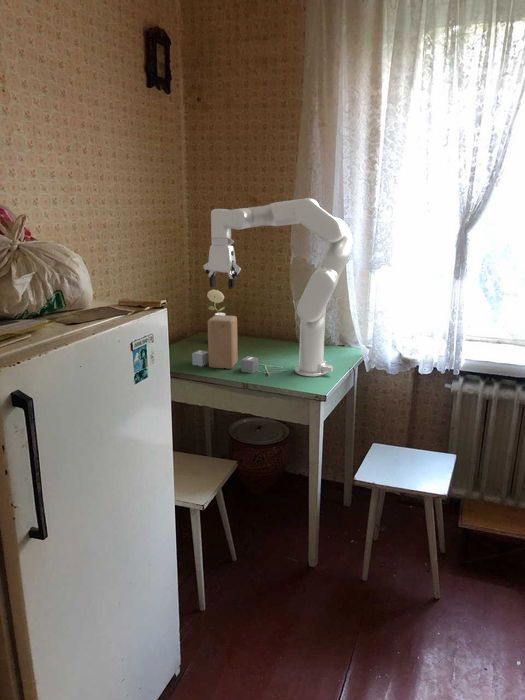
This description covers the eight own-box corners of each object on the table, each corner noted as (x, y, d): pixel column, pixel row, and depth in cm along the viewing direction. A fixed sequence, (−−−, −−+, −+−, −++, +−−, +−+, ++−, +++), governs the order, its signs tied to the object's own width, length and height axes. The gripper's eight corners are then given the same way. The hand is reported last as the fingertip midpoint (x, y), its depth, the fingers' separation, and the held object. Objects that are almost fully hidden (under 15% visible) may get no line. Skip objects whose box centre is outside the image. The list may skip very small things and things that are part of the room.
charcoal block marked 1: (258, 370, 209) (258, 357, 207) (252, 373, 205) (252, 361, 203) (247, 368, 211) (247, 355, 210) (241, 371, 207) (241, 359, 205)
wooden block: (232, 369, 209) (231, 321, 203) (208, 368, 211) (206, 319, 205) (238, 362, 218) (237, 315, 212) (215, 360, 220) (214, 314, 214)
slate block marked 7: (209, 363, 217) (209, 351, 215) (202, 366, 213) (202, 354, 211) (199, 361, 219) (198, 349, 217) (192, 365, 215) (192, 352, 213)
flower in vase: (237, 341, 249) (236, 289, 242) (223, 347, 240) (222, 293, 233) (215, 337, 256) (214, 286, 249) (201, 342, 246) (199, 290, 239)
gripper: (246, 242, 200) (246, 288, 205) (207, 240, 207) (208, 284, 212) (236, 244, 193) (236, 291, 198) (196, 241, 201) (198, 287, 206)
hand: (222, 287), depth 205 cm, fingers open, 7 cm apart
